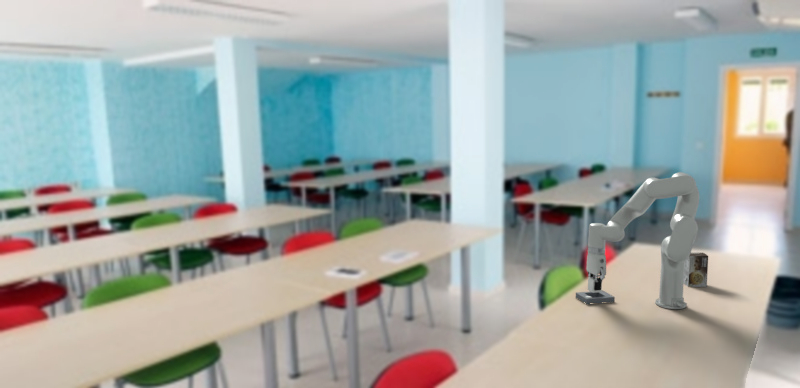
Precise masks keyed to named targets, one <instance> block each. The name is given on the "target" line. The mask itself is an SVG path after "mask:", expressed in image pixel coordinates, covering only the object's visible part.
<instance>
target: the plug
mask: <svg viewBox="0 0 800 388" xmlns="http://www.w3.org/2000/svg"><path fill="white" fill-rule="evenodd" d="M595 282H596V280H595V275H593V277H587V291H588V292H589V291H591V292H592V293H596V292H601V290H603V287H602V286H603V282H602V283H601V290H594V285H595Z"/></svg>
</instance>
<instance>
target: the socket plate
mask: <svg viewBox="0 0 800 388" xmlns="http://www.w3.org/2000/svg"><path fill="white" fill-rule="evenodd" d="M577 298H578V299H577ZM575 299H577V300H579V299H580V300H581V301H580V300H579V301H580V302H582V301H583V302H585V303H586V304H585V303H584V304H585V305H587V304H588V305H591V304H590V303H599V304H603V303H602V302H610V303H615V299H616V297H615V296H613V295H612V294H610V293H609V292H607V291H606V290H605V291H604V290H603V289H602V290H601V292H596V293H592V292H591V291H589V290H588V291H578V292H575ZM583 302H582V303H583Z"/></svg>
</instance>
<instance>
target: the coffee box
mask: <svg viewBox="0 0 800 388" xmlns="http://www.w3.org/2000/svg"><path fill="white" fill-rule="evenodd" d="M708 268H709V255H708V254H707V253H705V252H691V253H690V255H689V257H688V258H687V259H686V260H685V269H684V286H686V287H688V288H691V287H692V288H698V287H699V288H707V286H708V270H709V269H708Z"/></svg>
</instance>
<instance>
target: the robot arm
mask: <svg viewBox="0 0 800 388" xmlns="http://www.w3.org/2000/svg"><path fill="white" fill-rule="evenodd" d="M674 197H677V199H676V200H677V201H676V204H675V208H674V210H673V213H672V216H671V218H670V223H669V226H670V229H671V231H672V232H671V235H668V236H666V237H664V239H663V240H662V242H661V244H660V275H659V276H660V277H659V279H660V280H659V295H658V296H659V297H658V298H657V299H655V301H654V303H655V305H656V306H658V307H661V308H664V309H670V310H683V309H685V308H686V307H687V306H688V303H687V302H685V298H684V286H685V284H684V269H685V260H686V259H687V258H688V257H689V255H690V253H692V251H693V247H694V244H695V241H696V239H697V236H698V231H699V226H698V223H697V221H696V220H695V218H696V215H697V212H698V208H699V203H700V192H699V188H698V186H697V181H696V180H695V179H694V177H693V176H692V175H689V174H688V173H686V172H682V171H681V172H679V171H678V172H676V173H673V174H672V175H671V177H666V178H657V177H648V178H646V180H644V182H643V183H642V184H641V185H640V187H639V188H638V189H637V190H636V191H635V193H634V194H633V195H632V196H631V197H630V198H629V199H628V200H627V201H626V203H624V205H623V206H622V207H621V208H620V209H619V210H618V211H617V212H615V214H614V215H613V216H612V217H611V218H610V220H609V221H608V222H607V224H604V223H600V222H594V223H593V222H592V223H590V224H589V226H588V237H587V238H588V239H587V256H586V272H587V274H588V277H593V275H595V280H596V282H595V285H594V290H601V283H602V284H603V280H604V279H606V275H607V258H606V241H609V242H614V243H616V242H620V241H622V240H623V239H624V238H625V235H626V234H625V233H626V232H625V229H626V227H627V226H628V225H629V224H630V223H631V222H632V221H633V220H635V219H637V218H638V217H640V216H642V215H644V214H645V213H646V211H647V210H649V208H650V207H651V206H652V204H653V203H654V202H655V201H657V200H660V199H661V200H662V199H670V198H674ZM588 277H587V278H588Z"/></svg>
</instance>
